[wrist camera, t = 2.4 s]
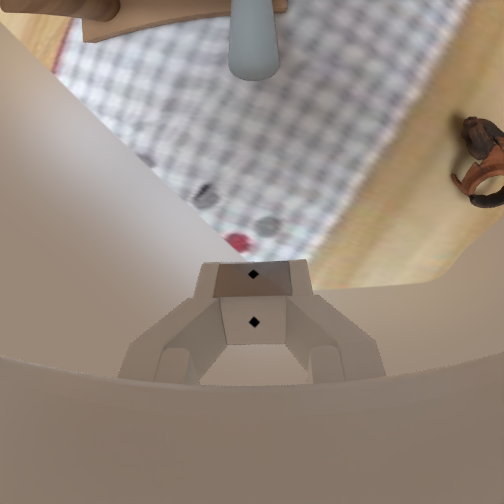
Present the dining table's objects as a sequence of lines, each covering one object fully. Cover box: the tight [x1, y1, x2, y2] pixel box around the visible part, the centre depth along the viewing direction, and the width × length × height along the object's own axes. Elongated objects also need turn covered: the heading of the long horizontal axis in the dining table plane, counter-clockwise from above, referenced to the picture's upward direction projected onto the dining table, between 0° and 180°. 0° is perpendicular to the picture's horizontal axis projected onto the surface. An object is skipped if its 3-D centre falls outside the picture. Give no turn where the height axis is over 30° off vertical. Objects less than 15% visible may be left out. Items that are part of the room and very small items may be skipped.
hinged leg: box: [229, 0, 280, 81], centre depth 17 cm, size 3×3×12 cm
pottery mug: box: [452, 117, 504, 208], centre depth 28 cm, size 12×10×8 cm
